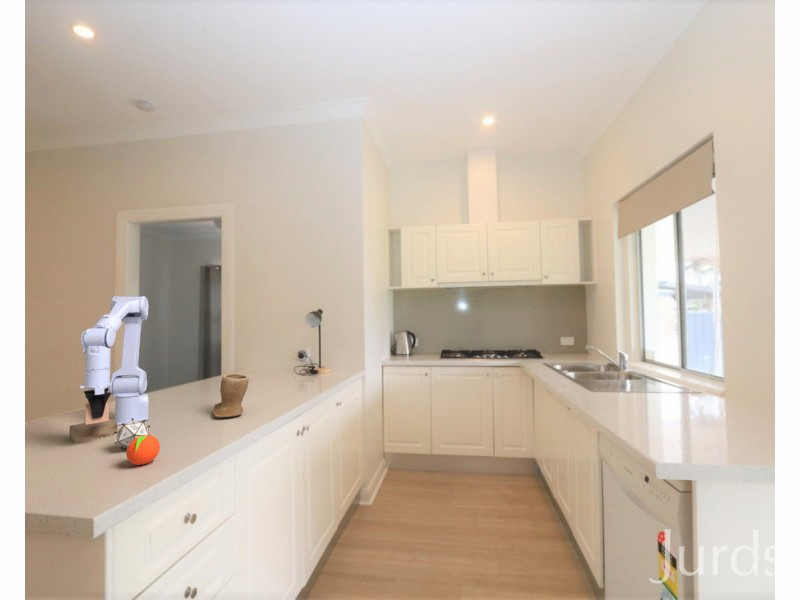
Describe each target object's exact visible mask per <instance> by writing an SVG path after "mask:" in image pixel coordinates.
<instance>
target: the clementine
mask: <svg viewBox="0 0 800 600" xmlns="http://www.w3.org/2000/svg"><path fill="white" fill-rule="evenodd" d="M151 435H152V434H151ZM151 435H150V434H149V435H143V436H139V437H137V438H135V439H134V440H133V441H132V442H131V443H130V444H129V446H128V448H126V458H127V460H128V461H129V462H130V463H131V464H133V465H136V466H139V465H140V466H141V465H142V466H143V465H147V464H149V463H150V462H152V461H153V460H154V459H156V457H157V456H158V455H159V453H160V451H161V450H160V449H161V444H160V441H159V439H158V438H157V437H155V436H154V435H152V436H151Z"/></svg>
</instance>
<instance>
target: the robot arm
mask: <svg viewBox="0 0 800 600" xmlns="http://www.w3.org/2000/svg"><path fill="white" fill-rule="evenodd" d="M109 303H110V305H109V306H110V311H109V312H108V314H104V315H102V316H101V317H100V318H99V320H97V322H96V323H95V324H94V325H93V326H92V327H91V328H87V329H86V330H83V332H82V334H81V337H80V343H81V346H82V353H83V355H84V357H85V358H84V384H81V385H79V386H78V388H79V389H80V390H81V389H85V390H84V391H83V393H84V396H85V398H86V399H87V403H89V404H90V408H91V414H92V417H93V419H94V418H100V417H102V416H103V414H104V410H105V405H106V402H107V401H108V400H109V398H110V396H113V398H114V399H115V402H114V403H115V405H114V407H115V409H114V410H115V411H114V418H112V419H113V420H114V421H116V422H117V426H119V425H122V423H124V424H127V423H128V422H130V421H132V418H134V421H142V422H143V420H145V419H146V421H148V420H149V402H150V400H149V394H148V393H145V391H147V388H148V387H147V386H148V379H147V372H146V371H145V370H143V369H142V368H141V367H139V357H140V347H141V346H140V345H141V331H142V325H143V322H144V321H147V320H148V315H149V301H148V298H147V296H145V295H143V296H118V295H114V296H113V297H112V298H111V299H110V302H109ZM122 322H123V323H124V334H123V343H122V354H121V364H120V368H119V369H117V370H116V371H114V372H113V373H112V374H111V353H112V352H111V347H112V346H114V345H115V341H116V337H117V334H116V333H118V331H119V330H120V328H121V327H122V324H123V323H122Z"/></svg>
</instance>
